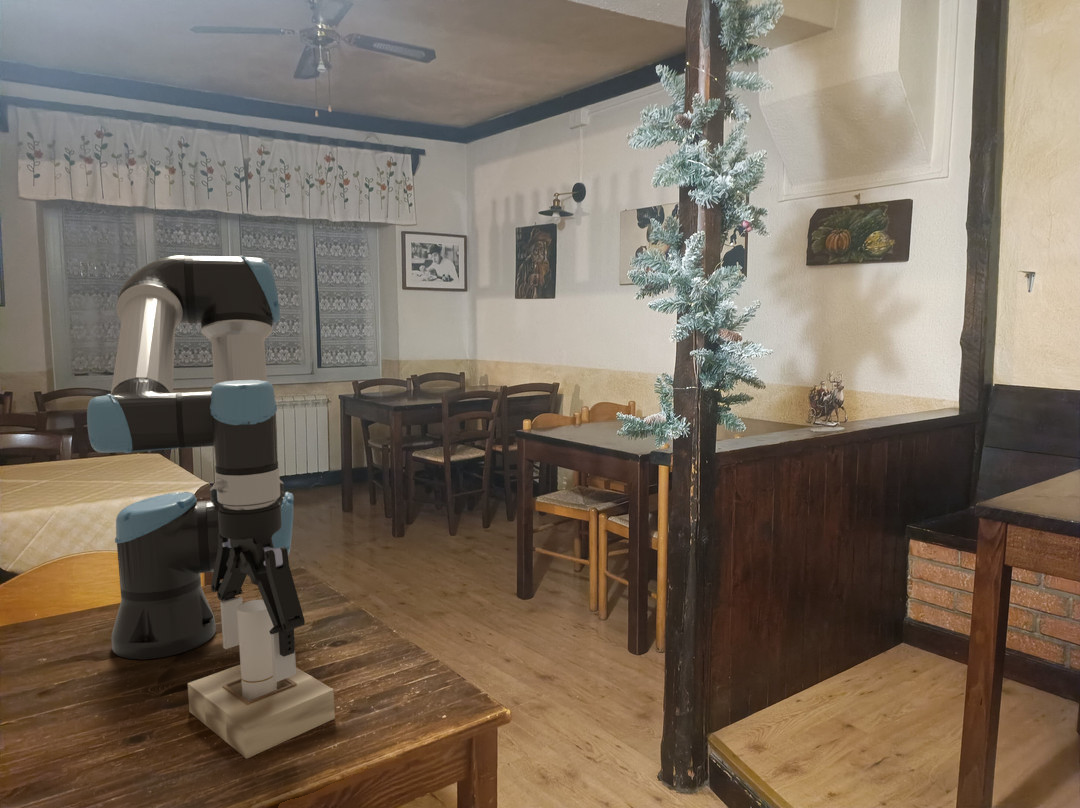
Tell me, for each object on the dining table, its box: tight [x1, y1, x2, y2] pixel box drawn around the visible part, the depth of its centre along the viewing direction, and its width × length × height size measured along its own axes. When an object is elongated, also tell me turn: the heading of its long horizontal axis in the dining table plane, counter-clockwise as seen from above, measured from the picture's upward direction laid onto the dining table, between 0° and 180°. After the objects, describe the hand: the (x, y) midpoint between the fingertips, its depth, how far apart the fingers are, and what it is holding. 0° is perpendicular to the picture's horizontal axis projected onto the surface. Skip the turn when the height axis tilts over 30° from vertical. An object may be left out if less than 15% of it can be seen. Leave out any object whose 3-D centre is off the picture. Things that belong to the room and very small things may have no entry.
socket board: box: [187, 664, 336, 760], centre depth 100 cm, size 16×12×4 cm
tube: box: [237, 598, 277, 701], centre depth 99 cm, size 4×4×15 cm
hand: (258, 660), depth 99 cm, fingers open, 13 cm apart
